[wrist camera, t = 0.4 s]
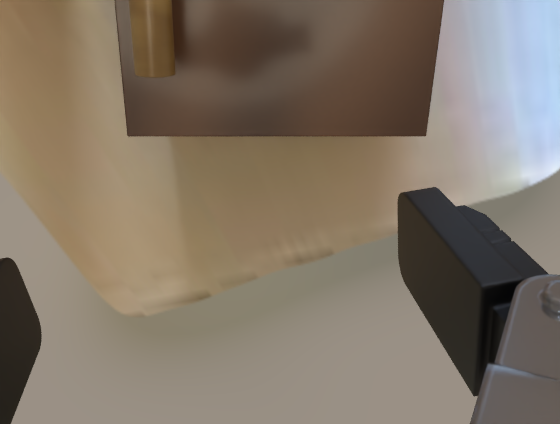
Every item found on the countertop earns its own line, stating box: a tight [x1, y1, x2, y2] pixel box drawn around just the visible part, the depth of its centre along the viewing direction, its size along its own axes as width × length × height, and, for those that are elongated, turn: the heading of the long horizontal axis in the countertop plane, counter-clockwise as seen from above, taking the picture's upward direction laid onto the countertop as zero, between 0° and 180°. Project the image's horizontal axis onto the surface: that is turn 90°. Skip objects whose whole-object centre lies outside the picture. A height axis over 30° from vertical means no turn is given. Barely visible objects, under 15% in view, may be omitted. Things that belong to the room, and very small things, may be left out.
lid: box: [115, 0, 444, 136], centre depth 25 cm, size 16×13×5 cm
